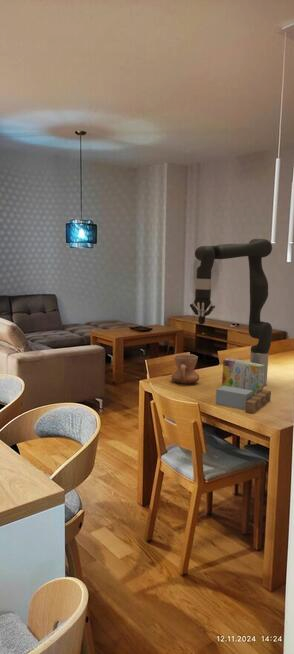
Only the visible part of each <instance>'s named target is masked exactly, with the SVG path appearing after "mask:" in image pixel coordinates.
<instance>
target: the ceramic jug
mask: <svg viewBox="0 0 294 654" xmlns="http://www.w3.org/2000/svg"><path fill="white" fill-rule="evenodd" d="M173 358H174V363H175V365H176V368H177V370H175V371H174V372H173V373H172V374H171V379H172V381H174V382H175V383H178V384H180V385H181V384H182V385H193V384H196V383H198V382H199V380H200V374H199V373H198V372H197V371H196V370H194V369H195V368H196V366H197V363H198V358H199V357H198V356H197V355H195V354H192V353H190V354H189V353H178V354H175V355H174V356H173Z"/></svg>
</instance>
